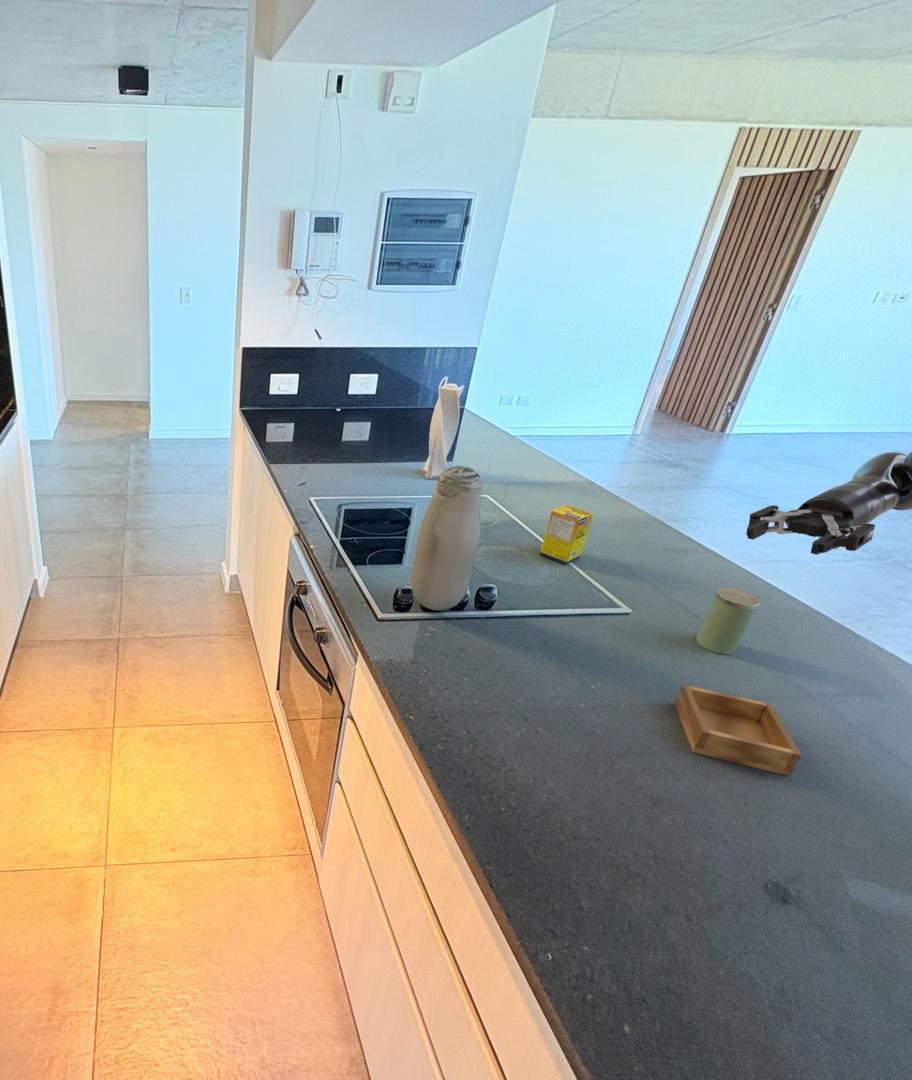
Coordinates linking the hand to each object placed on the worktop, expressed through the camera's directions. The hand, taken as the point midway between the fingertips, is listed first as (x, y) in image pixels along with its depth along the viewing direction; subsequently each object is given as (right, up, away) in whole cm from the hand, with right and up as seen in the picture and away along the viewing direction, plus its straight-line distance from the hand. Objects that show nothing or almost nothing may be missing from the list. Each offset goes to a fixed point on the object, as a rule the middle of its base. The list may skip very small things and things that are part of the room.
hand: (780, 541), depth 100 cm
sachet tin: (-5, -18, +7) cm, 20 cm away
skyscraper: (-24, +20, +82) cm, 88 cm away
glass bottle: (-50, -13, +18) cm, 54 cm away
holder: (-20, -28, -13) cm, 37 cm away
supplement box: (-15, -4, +36) cm, 39 cm away
